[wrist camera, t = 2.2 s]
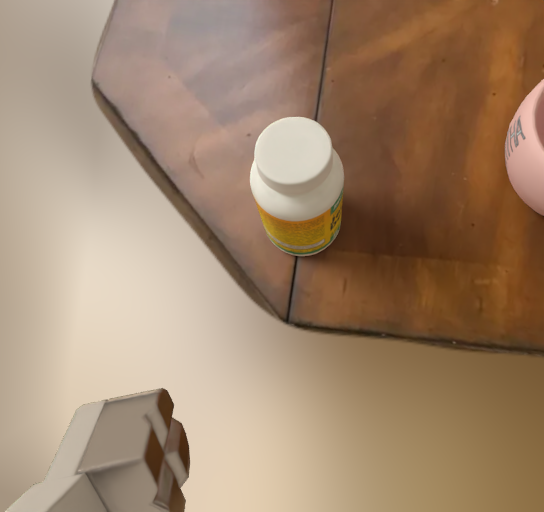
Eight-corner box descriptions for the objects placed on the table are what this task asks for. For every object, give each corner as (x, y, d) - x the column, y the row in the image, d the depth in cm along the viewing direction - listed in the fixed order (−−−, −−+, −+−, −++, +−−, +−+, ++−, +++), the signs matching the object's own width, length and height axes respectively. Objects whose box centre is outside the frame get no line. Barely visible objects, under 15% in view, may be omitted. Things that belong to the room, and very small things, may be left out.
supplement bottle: (264, 190, 34) (241, 107, 25) (338, 186, 33) (343, 99, 24) (265, 260, 32) (240, 198, 23) (343, 257, 31) (349, 192, 22)
